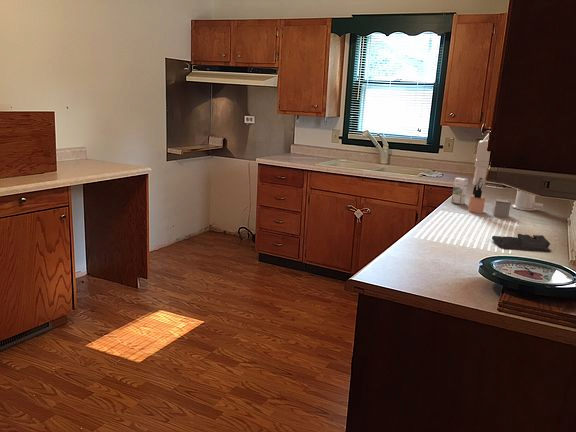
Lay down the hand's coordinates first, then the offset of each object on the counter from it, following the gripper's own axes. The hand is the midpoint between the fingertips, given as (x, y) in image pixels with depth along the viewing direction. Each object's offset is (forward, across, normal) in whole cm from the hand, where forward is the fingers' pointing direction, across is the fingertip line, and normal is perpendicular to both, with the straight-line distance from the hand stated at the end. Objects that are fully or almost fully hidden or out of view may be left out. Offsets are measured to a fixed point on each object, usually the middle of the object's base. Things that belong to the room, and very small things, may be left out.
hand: (476, 196), depth 266 cm
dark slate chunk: (+10, +60, +14) cm, 62 cm away
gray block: (+8, +3, +13) cm, 15 cm away
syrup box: (+8, -19, -7) cm, 22 cm away
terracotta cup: (+8, -1, +1) cm, 8 cm away
